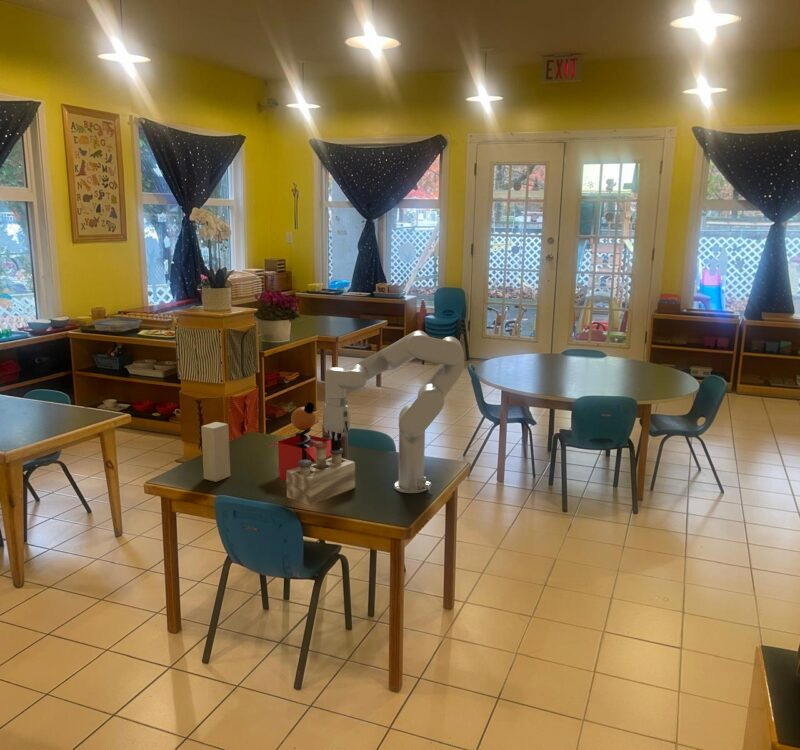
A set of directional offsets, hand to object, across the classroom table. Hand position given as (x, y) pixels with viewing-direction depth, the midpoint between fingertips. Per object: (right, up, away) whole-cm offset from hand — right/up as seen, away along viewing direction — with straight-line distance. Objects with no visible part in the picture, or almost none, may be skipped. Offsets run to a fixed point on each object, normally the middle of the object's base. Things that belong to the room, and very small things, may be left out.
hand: (335, 449), depth 272 cm
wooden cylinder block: (-5, -15, -3) cm, 17 cm away
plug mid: (-5, -6, -5) cm, 9 cm away
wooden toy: (-3, -9, +27) cm, 29 cm away
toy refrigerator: (-47, -12, +11) cm, 50 cm away
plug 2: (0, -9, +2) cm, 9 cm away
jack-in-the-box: (-13, -12, +14) cm, 23 cm away
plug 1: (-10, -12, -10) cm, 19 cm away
